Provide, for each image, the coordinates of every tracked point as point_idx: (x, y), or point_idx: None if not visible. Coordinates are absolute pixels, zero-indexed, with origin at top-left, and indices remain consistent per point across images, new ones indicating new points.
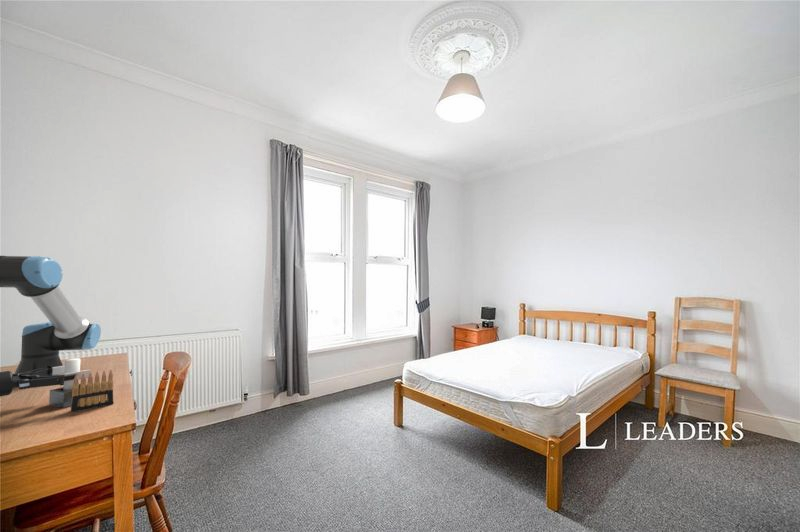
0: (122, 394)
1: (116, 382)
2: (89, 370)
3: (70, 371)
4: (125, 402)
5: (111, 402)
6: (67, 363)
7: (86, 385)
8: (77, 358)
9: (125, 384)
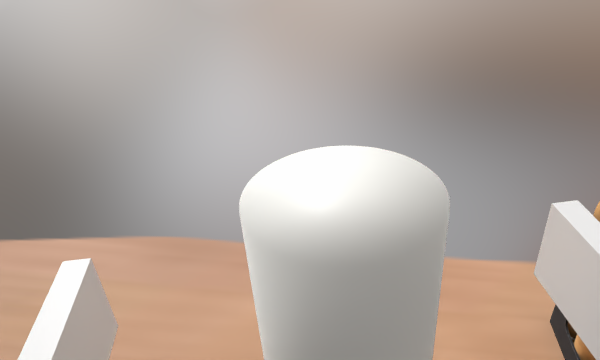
0: None
1: None
2: (575, 206)
3: (433, 346)
4: None
5: None
6: (427, 279)
7: None
8: (286, 163)
9: (171, 238)
